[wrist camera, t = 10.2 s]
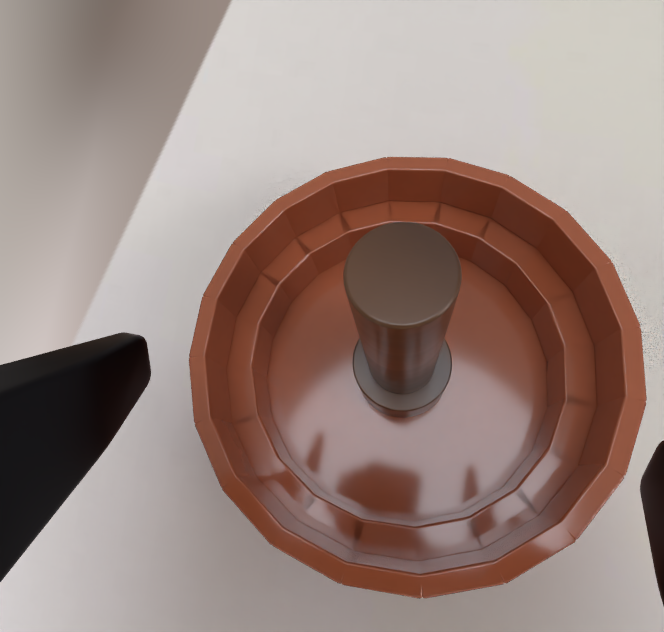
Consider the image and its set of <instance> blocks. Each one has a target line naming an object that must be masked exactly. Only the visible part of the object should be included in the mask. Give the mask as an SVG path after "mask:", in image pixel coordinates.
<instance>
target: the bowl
mask: <svg viewBox="0 0 664 632" xmlns="http://www.w3.org/2000/svg"><path fill="white" fill-rule="evenodd" d="M393 222H413V223H419V224H422V225H425V226H428V227H430V228H432V229H434V230H435V231H437V232H439V233H440V234H441V235H442V236H444V237H445V238H446V239H447V240H448V241H449V243H450V244H451V245H452V247H453V248H454V249H455V251H456V253H457V255H458V258H459V261H460V264H461V270H462V280H461V286H460V290H459V294H458V297H457V300H456V303H455V306H454V309H453V313H452V316H451V319H450V322H449V325H448V328H447V332H446V335H445V340H446V342H447V344H448V346H449V349H450V352H451V357H452V372H451V376H450V379H449V382H448V384H447V386H446V388H445V390H444V392H443V394H442V396H441V398H440V399H439V400H438V402H437V403H436V404H435V405H434V406H433V407H431V408H430V409H429V410H427V411H426V412H424V413H422V414H419V415H417V416H413V417H406V418H401V417H393V416H389V415H386V414H384V413H382V412H380V411H378V410H377V409H375V408H374V407H373V406H372V405H371V404H370V403H369V402H368V401H367V400H366V399H365V397H364V396H363V394H362V392H361V390H360V388H359V386H358V384H357V382H356V379H355V376H354V372H353V365H352V363H353V353H354V349H355V346H356V344H357V341H358V340H359V338H360V337H359V334H358V330H357V327H356V324H355V321H354V317H353V314H352V311H351V308H350V304H349V301H348V298H347V295H346V291H345V287H344V280H343V272H344V266H345V262H346V259H347V257H348V255H349V253H350V251H351V249H352V248H353V246H354V245H355V244H356V243H357V242H358V240H359V239H361V238H362V237H363V236H364V235H365V234H367V233H368V232H369V231H371V230H373V229H375V228H377V227H379V226H382V225H385V224H388V223H393ZM203 296H204V297H202V301H201V305H200V310H199V314H198V319H197V323H196V328H195V332H194V337H193V341H192V345H191V350H190V354H189V357H190V358H189V366H190V377H191V389H192V401H193V413H194V422H195V423H196V424H195V426H196V429H197V431H198V434H199V436H200V438H201V441H202V443H203V445H204V448H205V450H206V452H207V455H208V457H209V460H210V462H211V464H212V467H213V469H214V471H215V474H216V476H217V479H218V481H219V483H220V486H221V487H222V490H223V491H224V492H225V493H226V494H227V496H228V497H229V498H230V499H231V500H232V501H233V502H234V504H235V505H236V506H237V507H238V508H239V509H240V510H241V512H242V513H243V514H244V515H245V516H246V517H247V518H248V519H249V521H250V522H251V523H252V524H253V525H254V526H255V527H256V529H257V530H258V531H259V532H260V533H261V534H262V535H263V536H264V538H265V539H266V540H267V541H268V542H269V543H270V544H271V545H273V546H274V547H275V548H277V549H279V550H281V551H282V552H284V553H286V554H288V555H289V556H291V557H293V558H295V559H296V560H298V561H300V562H302V563H303V564H305V565H307V566H309V567H311V568H312V569H314V570H316V571H318V572H319V573H321V574H323V575H325V576H326V577H328V578H330V579H332V580H333V581H335V582H337V583H339V584H341V583H342V584H343V585H346V586H352V587H357V588H363V589H369V590H374V591H380V592H386V593H391V594H397V595H403V596H408V597H414V598H422V597H423V598H431V597H436V596H442V595H447V594H453V593H458V592H464V591H469V590H475V589H480V588H486V587H492V586H497V585H502V584H504V583H508V582H510V581H511V580H513V579H515V578H516V577H518V576H520V575H521V574H523V573H525V572H526V571H528V570H530V569H531V568H533V567H535V566H536V565H538V564H540V563H541V562H543V561H544V560H546V559H548V558H549V557H551V556H553V555H554V554H556V553H558V552H559V551H561V550H563V549H564V548H566V547H568V546H569V545H571V544H573V543H574V542H575V541H576V539H578V538H579V537H580V535H581V534H582V533H583V531H584V530H585V529H586V528H587V526H588V525H589V524H590V522H591V521H592V520H593V518H594V517H595V516H596V514H597V513H598V512H599V511H600V509H601V508H602V507H603V505H604V504H605V503H606V501H607V500H608V499H609V497H610V496H611V495H612V494H613V492H614V491H615V490H616V488H617V487H618V486H619V484H620V483H621V482H622V480H623V479H624V476H625V475H626V472H627V469H628V465H629V462H630V458H631V455H632V451H633V448H634V445H635V441H636V438H637V434H638V431H639V427H640V424H641V420H642V417H643V413H644V410H645V406H646V402H645V401H646V386H645V374H644V361H643V348H642V336H641V329H640V324H639V322H638V319H637V317H636V315H635V312H634V310H633V308H632V306H631V303H630V301H629V299H628V297H627V294H626V292H625V290H624V288H623V285H622V283H621V281H620V278H619V276H618V274H617V272H616V269H615V267H614V265H613V263H612V262H611V260H610V259H609V258H608V256H607V255H606V254H605V253H604V252H603V251H602V250H601V249H600V247H599V246H598V245H597V244H596V243H595V242H594V241H593V240H592V239H591V237H590V236H589V235H588V234H587V233H586V232H585V231H584V230H583V228H582V227H581V226H580V225H579V224H578V223H577V222H576V221H575V219H574V218H573V217H572V216H571V215H570V214H569V213H568V212H567V211H565V210H564V209H563V208H561V207H560V206H558V205H557V204H555V203H553V202H552V201H550V200H548V199H547V198H545V197H544V196H542V195H540V194H539V193H537V192H536V191H534V190H532V189H531V188H529V187H527V186H526V185H524V184H523V183H521V182H519V181H518V180H516V179H515V178H513V177H511V176H510V177H509V175H506V174H503V173H499V172H496V171H492V170H489V169H485V168H482V167H479V166H475V165H472V164H468V163H465V162H461V161H458V160H454V159H451V158H449V159H448V158H425V157H387V158H386V157H384V158H380V159H376V160H372V161H368V162H364V163H360V164H356V165H352V166H348V167H344V168H340V169H336V170H332V171H329V172H325V173H323V174H322V175H320V176H318V177H316V178H314V179H313V180H311V181H309V182H307V183H305V184H304V185H302V186H300V187H298V188H296V189H295V190H293V191H291V192H289V193H288V194H286V195H284V196H282V197H280V198H279V199H277V200H276V202H275V201H274V202H273V203H272V204H271V205H270V206H269V207H268V208H267V209H266V210H265V211H264V212H263V213H262V214H261V215H260V216H259V217H258V218H257V219H256V220H255V221H254V222H253V223H252V224H251V225H250V226H249V227H248V228H247V229H246V230H245V231H244V232H243V233H242V234H241V235H240V236H239V237H238V238H237V239H236V240H235V241H234V242H233V244H231V246H230V248H229V250H228V252H227V253H226V255H225V257H224V259H223V260H222V262H221V264H220V266H219V268H218V269H217V271H216V273H215V275H214V276H213V278H212V280H211V282H210V284H209V285H208V287H207V289H206V291H205V292H204V294H203Z"/></svg>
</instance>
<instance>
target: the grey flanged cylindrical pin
mask: <svg viewBox="0 0 664 632" xmlns="http://www.w3.org/2000/svg"><path fill="white" fill-rule="evenodd" d="M343 280H344V287H345V291H346V295H347V298H348V301H349V304H350V308H351V311H352V314H353V317H354V321H355V324H356V327H357V330H358V334H359V337H360V338H359V340H358V341H357V344H356V346H355V349H354V353H353V363H352V365H353V372H354V376H355V379H356V382H357V384H358V386H359V388H360V390H361V392H362V394H363V396H364V397H365V399H366V400H367V401H368V402H369V403H370V404H371V405H372V406H373V407H374V408H375V409H377V410H378V411H380V412H382V413H384V414H386V415H389V416H393V417H401V418H406V417H413V416H417V415H419V414H422V413H424V412H426V411H427V410H429V409H430V408H431V407H433V406H434V405H435V404H436V403H437V402H438V400H439V399H440V398H441V396H442V394H443V392H444V390H445V388H446V386H447V384H448V382H449V379H450V376H451V372H452V357H451V352H450V349H449V346H448V344H447V342H446V340H445V335H446V332H447V328H448V325H449V322H450V319H451V316H452V313H453V309H454V306H455V303H456V300H457V297H458V294H459V290H460V286H461V280H462V270H461V264H460V261H459V258H458V255H457V253H456V251H455V249H454V248H453V247H452V245H451V244H450V243H449V241H448V240H447V239H446V238H445V237H444V236H442V235H441V234H440V233H439V232H437V231H435V230H434V229H432V228H430V227H428V226H425V225H422V224H419V223H413V222H393V223H388V224H385V225H382V226H379V227H377V228H375V229H373V230H371V231H369V232H368V233H367V234H365V235H364V236H363V237H362V238H361V239H359V240H358V242H357V243H356V244H355V245H354V246H353V248H352V249H351V251H350V253H349V255H348V257H347V259H346V262H345V266H344V272H343Z"/></svg>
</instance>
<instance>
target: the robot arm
mask: <svg viewBox="0 0 664 632" xmlns="http://www.w3.org/2000/svg"><path fill="white" fill-rule="evenodd" d="M150 377H151V368H150V361H149V355H148V348H147V342H146V340H145V338H144V337H142V336H140V335H135V334H130V333H118V334H115V335H111V336H107V337H103V338H100V339H96V340H92V341H89V342H85V343H81V344H77V345H74V346H70V347H66V348H62V349H59V350H55V351H52V352H48V353H44V354H40V355H36V356H33V357H29V358H25V359H21V360H18V361H14V362H11V363H7V364H3V365H0V582H1V581H2V580H3V578H4V577H5V576H6V574H7V573H8V572H9V571H10V569H11V568H12V567H13V566H14V564H15V563H16V562H17V561H18V559H19V558H20V557H21V556H22V554H23V553H24V552H25V551H26V549H27V548H28V547H29V546H30V544H31V543H32V542H33V540H34V539H35V538H36V537H37V535H38V534H39V533H40V532H41V530H42V529H43V528H44V527H45V525H46V524H47V523H48V522H49V520H50V519H51V518H52V517H53V515H54V514H55V513H56V511H57V510H58V509H59V508H60V506H61V505H62V504H63V503H64V501H65V500H66V499H67V498H68V496H69V495H70V494H71V493H72V491H73V490H74V489H75V488H76V486H77V485H78V484H79V483H80V481H81V480H82V479H83V477H84V476H85V475H86V474H87V472H88V471H89V470H90V469H91V467H92V466H93V465H94V464H95V462H96V461H97V460H98V459H99V457H100V456H101V455H102V453H103V452H104V451H105V449H106V448H107V447H108V445H109V444H110V442H111V441H112V439H113V438H114V436H115V435H116V433H117V432H118V430H119V429H120V427H121V425H122V424H123V422H124V421H125V419H126V418H127V416H128V415H129V413H130V411H131V410H132V408H133V407H134V405H135V404H136V402H137V401H138V399H139V397H140V396H141V394H142V393H143V391H144V390H145V388H146V387H147V385H148V383H149V380H150ZM640 492H641V498H642V504H643V509H644V514H645V520H646V525H647V531H648V536H649V542H650V547H651V552H652V558H653V563H654V569H655V574H656V578H657V583H658V587H659V591H660V595H661V598H662V602H663V605H664V441H662V442H661V443H660V444H659V445H658V446H657V448H656V450H655V452H654V454H653V456H652V458H651V460H650V462H649V464H648V466H647V468H646V470H645V472H644V474H643V477H642V479H641V485H640Z"/></svg>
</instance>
